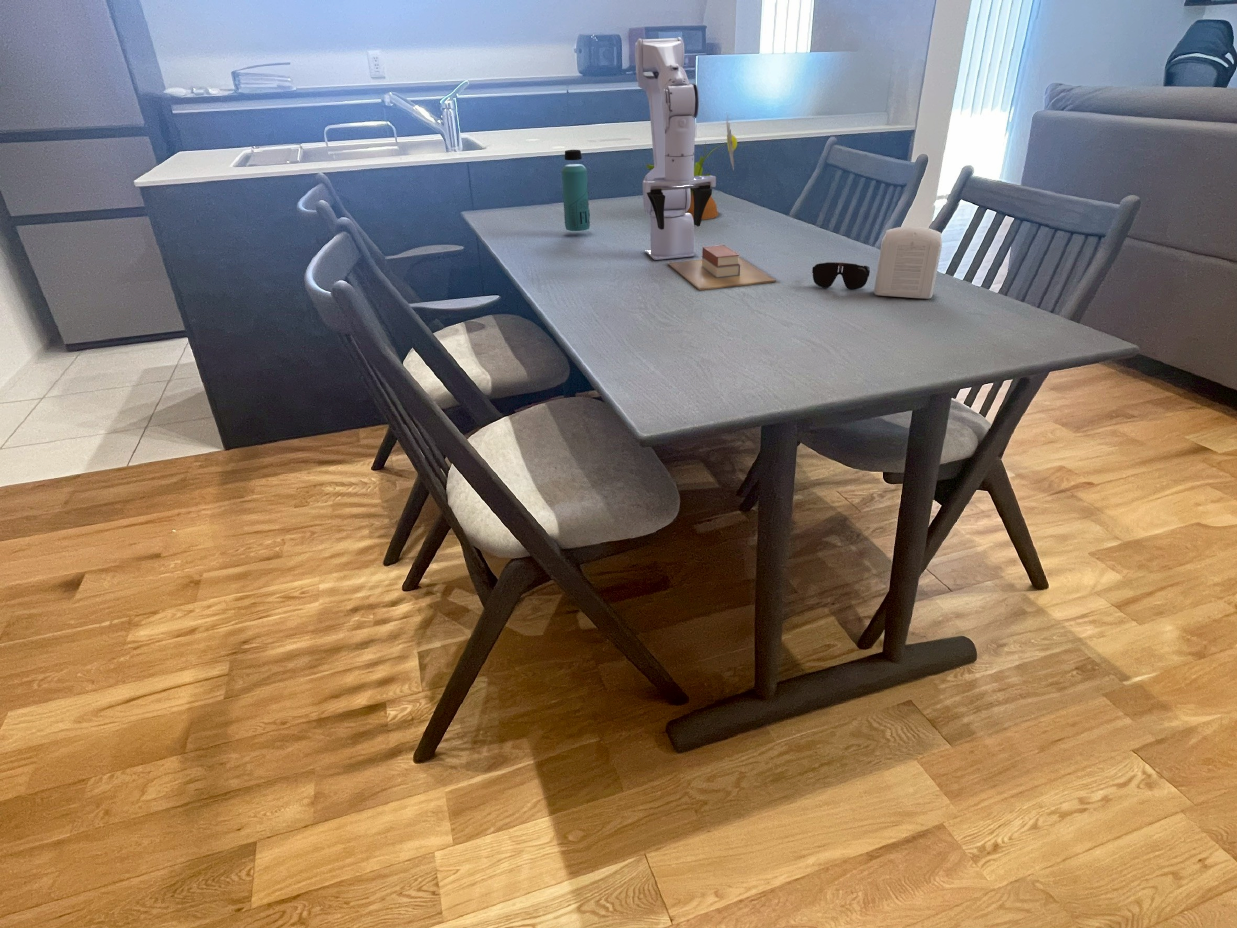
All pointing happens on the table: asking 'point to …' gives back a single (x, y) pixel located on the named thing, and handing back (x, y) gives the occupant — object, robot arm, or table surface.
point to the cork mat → (708, 281)
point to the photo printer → (908, 262)
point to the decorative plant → (710, 207)
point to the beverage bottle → (575, 193)
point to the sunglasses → (851, 274)
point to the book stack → (720, 261)
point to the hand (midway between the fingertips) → (678, 227)
